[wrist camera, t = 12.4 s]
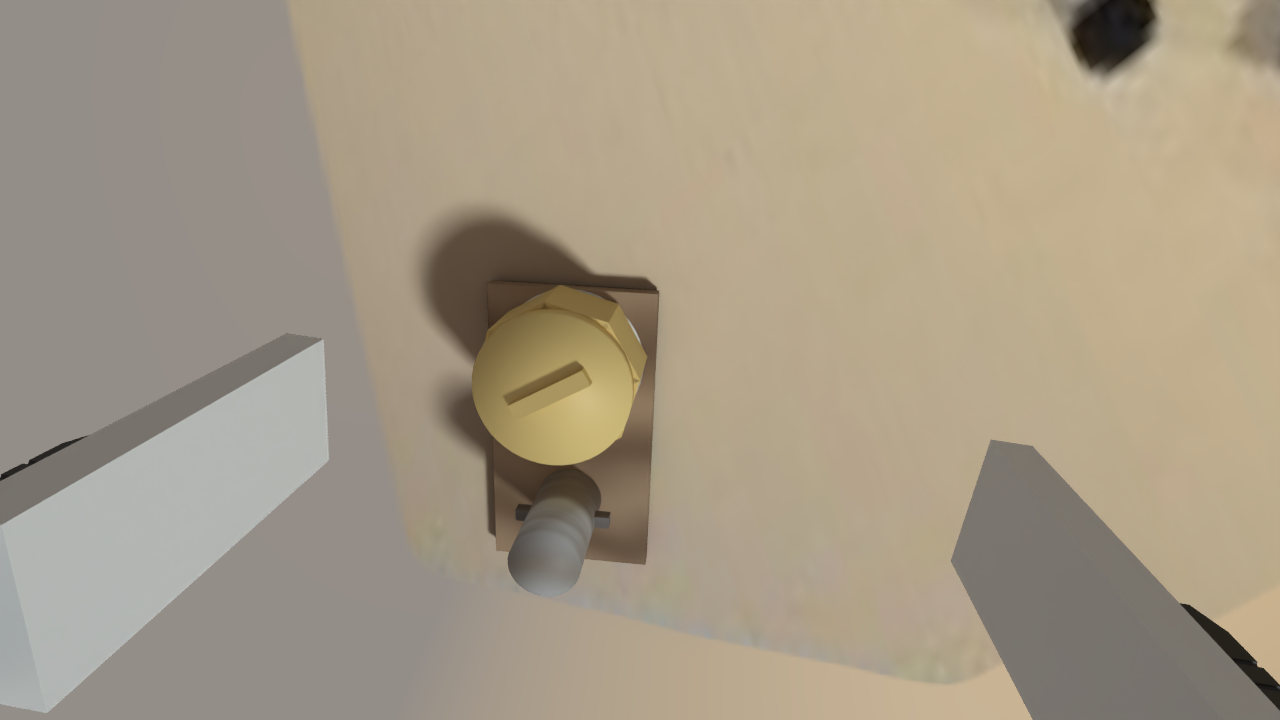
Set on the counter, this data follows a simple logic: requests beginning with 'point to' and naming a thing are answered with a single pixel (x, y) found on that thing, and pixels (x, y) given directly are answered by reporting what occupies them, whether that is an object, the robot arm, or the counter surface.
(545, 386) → the cap
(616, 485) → the post board
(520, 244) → the counter surface
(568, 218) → the counter surface
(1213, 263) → the counter surface
